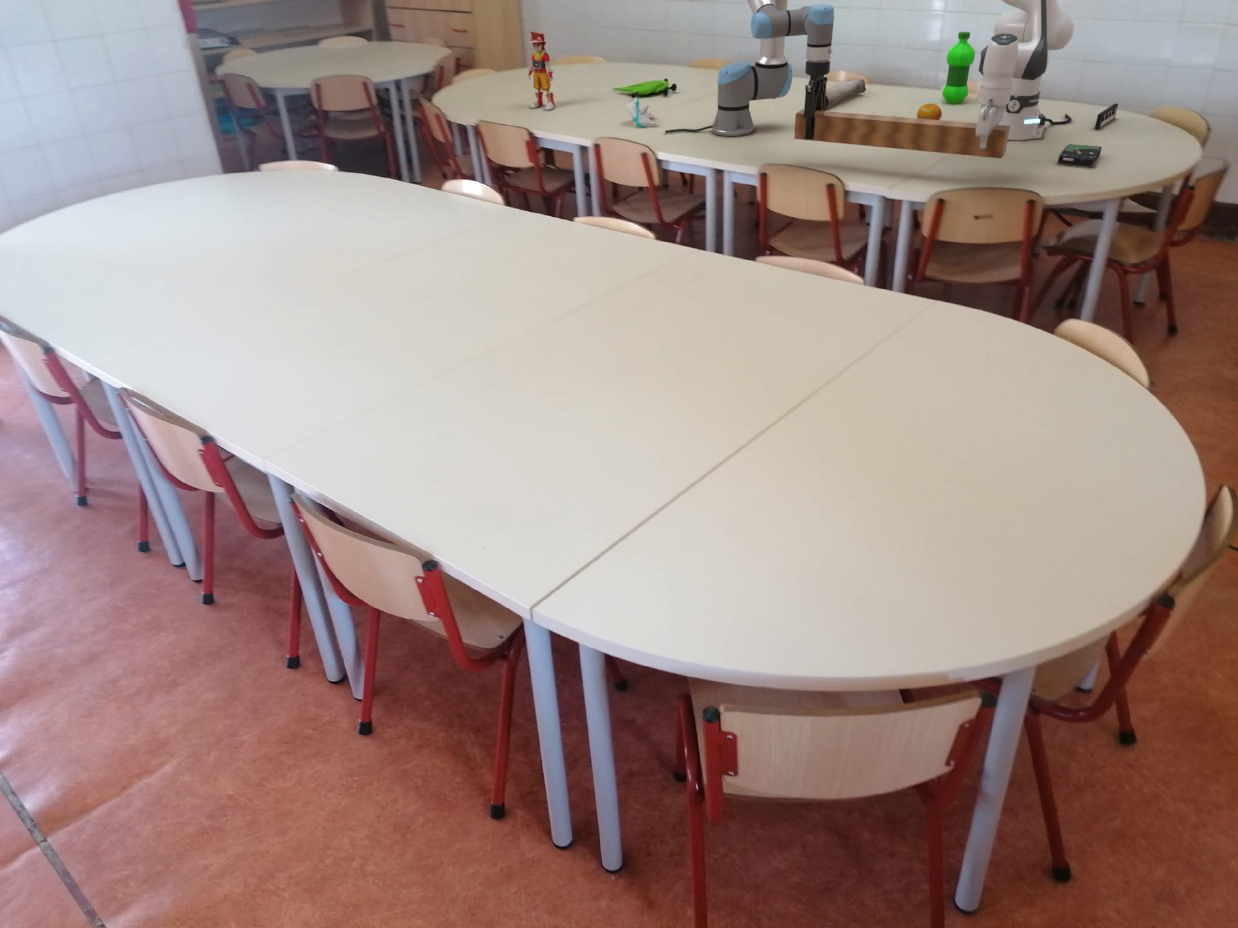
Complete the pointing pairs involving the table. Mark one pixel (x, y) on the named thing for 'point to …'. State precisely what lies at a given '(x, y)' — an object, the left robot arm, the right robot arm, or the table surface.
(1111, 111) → the midi keyboard
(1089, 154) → the disk drive
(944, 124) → the bar
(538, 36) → the toy
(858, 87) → the rolled mat
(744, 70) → the left robot arm
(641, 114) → the anatomical model
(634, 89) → the toy
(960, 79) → the plastic bottle
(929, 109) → the fruit
